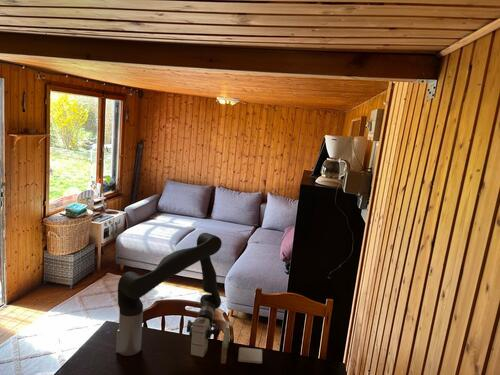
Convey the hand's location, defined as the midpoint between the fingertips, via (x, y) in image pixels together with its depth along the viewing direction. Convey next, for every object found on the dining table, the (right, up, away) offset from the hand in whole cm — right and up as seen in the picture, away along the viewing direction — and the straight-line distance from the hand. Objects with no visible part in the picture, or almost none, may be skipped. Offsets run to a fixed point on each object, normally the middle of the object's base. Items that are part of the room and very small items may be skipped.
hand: (199, 336), depth 149 cm
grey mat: (+21, -10, +4) cm, 24 cm away
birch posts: (+10, -9, +4) cm, 14 cm away
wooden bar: (+11, -2, +3) cm, 11 cm away
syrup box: (-1, -8, +3) cm, 9 cm away
